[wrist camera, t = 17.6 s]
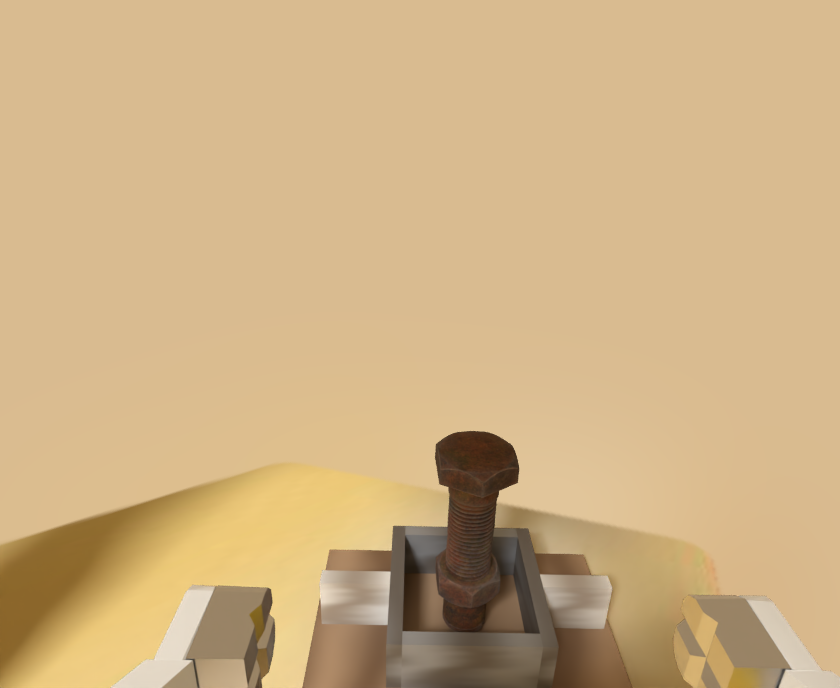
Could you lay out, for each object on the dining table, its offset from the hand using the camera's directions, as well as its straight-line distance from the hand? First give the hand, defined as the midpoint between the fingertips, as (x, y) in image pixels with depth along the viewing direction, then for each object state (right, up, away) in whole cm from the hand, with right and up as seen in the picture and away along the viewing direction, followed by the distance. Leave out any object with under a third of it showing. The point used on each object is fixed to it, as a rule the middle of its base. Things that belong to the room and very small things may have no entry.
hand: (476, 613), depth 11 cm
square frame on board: (+2, -17, +32) cm, 36 cm away
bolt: (+2, -16, +32) cm, 35 cm away
